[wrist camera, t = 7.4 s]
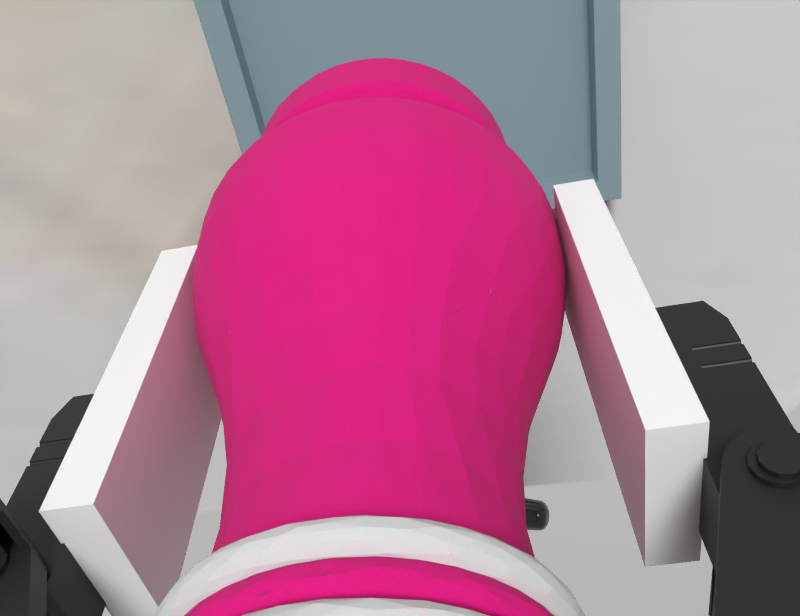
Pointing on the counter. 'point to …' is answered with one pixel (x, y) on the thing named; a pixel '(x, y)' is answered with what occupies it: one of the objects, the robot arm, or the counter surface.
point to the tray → (444, 67)
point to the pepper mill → (377, 357)
